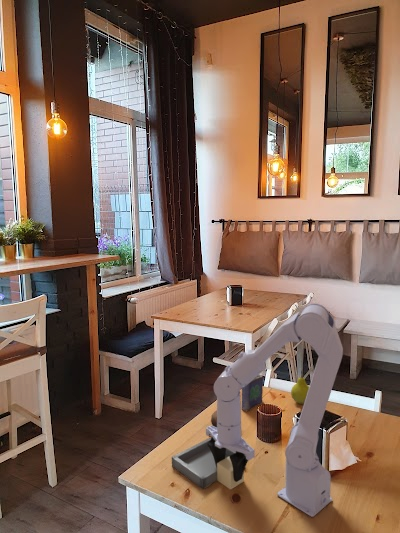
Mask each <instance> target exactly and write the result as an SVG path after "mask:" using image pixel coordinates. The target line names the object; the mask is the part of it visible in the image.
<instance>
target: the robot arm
mask: <svg viewBox="0 0 400 533" xmlns="http://www.w3.org/2000/svg"><path fill="white" fill-rule="evenodd" d="M301 340H302V341H304V342H305V343H307V344H308V345H310V346H311V347H312V348H313V350H314V351H315V353H316V354H317V356H318V358H317V360H316V364H315V367H314V371H313V374H312V377H311V381H310V383H309V385H308V386H309V390H308V393H307V396H306V399H305V403H304V404H303V406H302V410H301V413H300V416H299V418H298V421H297V423H295V424H293V426H292V428H291V430H290V436H289V439H288V442H287V445H286V447H285V451H284V454H285V487H283V488H282V489H281V490H279V491H278V492H277V496H278V497H280V498H281V499H282V500H285V501H286V502H287V503H289V504H290V505H292V506H293V507H295V508H297V509H298V510H300V511H302V512H303V513H305V514H306V515H308V516H310V517H312V518H313V517H315V516H316V515H317V514H318V513H320V512H321V510H323V508H325V507H326V506H327V505H328V504H329V503H330V502H333V498H332V497H331V481H332V480H331V478H332V476H331V473H330V471H329V470H327V469H326V468H325V467H324V466H323V465H322V463H320V460H319V459H320V458H319V456H318V454H317V446H318V442H319V432H320V426H321V423H322V421H323V418H324V415H325V411H326V408H327V405H328V403H329V399H330V396H331V394H332V389H333V387H334V384H335V381H336V378H337V373H338V371H339V368H340V365H341V362H342V359H343V353H344V348H343V344H342V341H341V338H340V335H339V332H338V329H337V327H336V322H335V319H334V316H333V315H332V314H331V313H330V311H329V310H328V309H327V308H326V306H324V305H322V304H319V303H317V302H316V303H309V304H307V305H305V306H304V307H303V308H302V310H301V311H298V312H296V313H294V314H293V315H292V316H291V317H289V318H288V319H287V320H285V321H284V322H283V323H281V325H280V326H278V328H277V329H276V330H275V331H274V332H273V333H272V334H271V335H270V336H269V337H268V338H267V339H266V340H265V341H264V342H263V343H262V344H261V345H260V346H258V348H257V349H248V350H245V352H244V351H241V352H240V353H239V354H238V355H237V358H238V359H236V360H235V361H234V362H233V363H232V364H231V365H226V367H225V368H224V370H223V371H222V373H221V374H220V375H219V376H218V377H217V378H216V380H215V382H214V383H213V392H214V395H215V396H216V410H217V427H214V426H212V424H211V425H209V426H207V427H205V436H207V437H211V440H210V441H208V442H207V445H208V447H209V448H210V450H211V452H212V454H213V457H214V460H215V464H216V468H217V463H218V462H220V461H222V460H224V459H225V454H226V448H227V449H231V450H234V451H236V453H234V454H232V455H231V456H229V458H230V460H231V462H232V466H233V477H234V481H235V482H238V481H239V480H241V479H242V476H243V472H244V471H245V469H246V466H247V464H248V462H249V461H250V460H252V459H254V458H255V454H256V453H255V449H254V448H253V447H252V446H251V445H250V444H248V442H247V441H246V440H245V439H244V438H243V437H242V387H245V386H247V385H248V384H249V383H250V382H251V381H252V380H253V379H254V378H256V377H257V376H258V375H261V373H263V372H264V371H265V369H266V361H268V359H270V357H272V356H273V355H274V354H276V353H277V352H278V351H279V350H280V349H282V348H283V347H284V346H286V344H287V343H290V342H291V343H300V342H301Z"/></svg>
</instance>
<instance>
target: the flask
mask: <svg viewBox="0 0 400 533" xmlns="http://www.w3.org/2000/svg"><path fill="white" fill-rule="evenodd" d="M263 384H264V376H263V374H259V375H258V376H257V377H256V378H254V379H253V380H252V381H251V382H250V383H249V384H248V385H247V386H245V387H242V389H241V410H242V411H244V412H247V411H248V412H249V411H251V410H252V409H255V408H256V407H257V406H259V405H262V404H263V392H264V390H263V388H264V387H263Z"/></svg>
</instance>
